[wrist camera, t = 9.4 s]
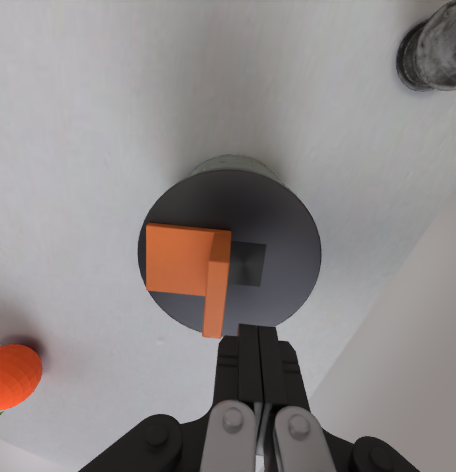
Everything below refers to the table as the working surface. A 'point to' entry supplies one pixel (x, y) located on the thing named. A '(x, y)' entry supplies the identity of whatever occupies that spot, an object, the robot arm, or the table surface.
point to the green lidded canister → (242, 242)
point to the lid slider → (190, 267)
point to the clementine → (18, 374)
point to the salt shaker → (430, 53)
